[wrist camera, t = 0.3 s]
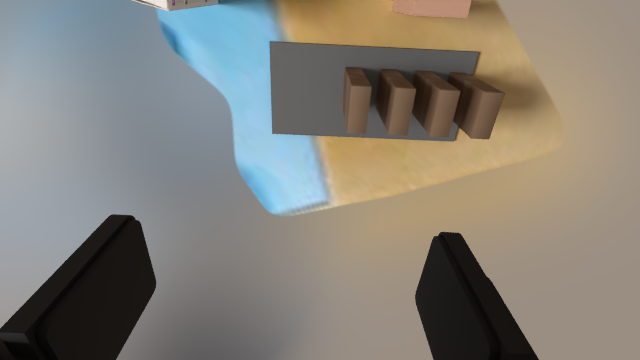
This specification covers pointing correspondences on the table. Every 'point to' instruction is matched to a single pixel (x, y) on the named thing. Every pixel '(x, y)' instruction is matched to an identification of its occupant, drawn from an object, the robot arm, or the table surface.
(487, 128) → the domino
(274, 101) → the mat
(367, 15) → the table surface
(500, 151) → the table surface
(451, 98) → the domino
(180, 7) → the syrup box
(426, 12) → the domino
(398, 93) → the domino
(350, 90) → the domino
